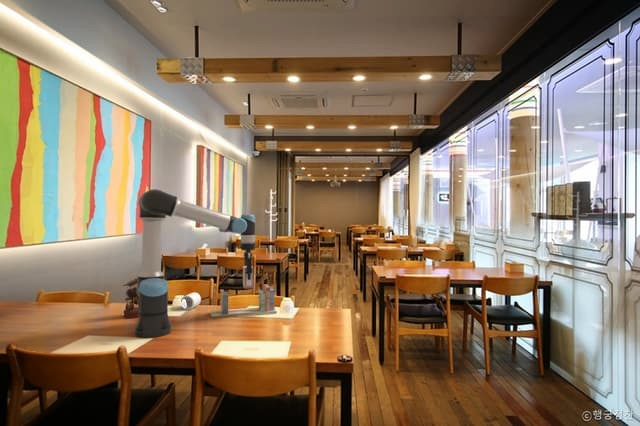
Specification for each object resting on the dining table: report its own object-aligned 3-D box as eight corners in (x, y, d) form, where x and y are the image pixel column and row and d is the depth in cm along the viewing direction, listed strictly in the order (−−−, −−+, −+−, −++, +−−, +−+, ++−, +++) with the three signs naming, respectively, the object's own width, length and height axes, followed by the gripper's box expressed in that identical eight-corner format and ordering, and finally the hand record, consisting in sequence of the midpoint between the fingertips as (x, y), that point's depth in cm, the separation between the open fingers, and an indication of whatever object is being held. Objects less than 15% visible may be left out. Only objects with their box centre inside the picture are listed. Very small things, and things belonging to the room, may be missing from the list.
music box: (137, 319, 189) (134, 280, 190) (117, 320, 191) (114, 281, 191) (154, 312, 204) (151, 275, 205) (135, 313, 206) (133, 276, 206)
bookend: (228, 313, 197) (228, 294, 197) (222, 314, 196) (222, 295, 196) (227, 309, 205) (227, 291, 206) (221, 310, 205) (221, 291, 205)
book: (253, 288, 201) (253, 267, 201) (244, 288, 199) (244, 267, 199) (251, 285, 209) (251, 265, 209) (243, 285, 208) (243, 265, 208)
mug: (201, 306, 220) (201, 292, 220) (193, 310, 210) (193, 296, 210) (181, 305, 221) (181, 291, 221) (173, 309, 211) (173, 295, 211)
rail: (276, 313, 203) (276, 287, 203) (211, 318, 193) (211, 290, 194) (273, 308, 214) (273, 283, 214) (211, 312, 204) (211, 286, 204)
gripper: (257, 243, 195) (257, 287, 195) (252, 241, 216) (252, 280, 216) (242, 244, 193) (242, 288, 193) (239, 241, 214) (239, 281, 214)
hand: (247, 284), depth 204 cm, fingers closed on book, 9 cm apart
